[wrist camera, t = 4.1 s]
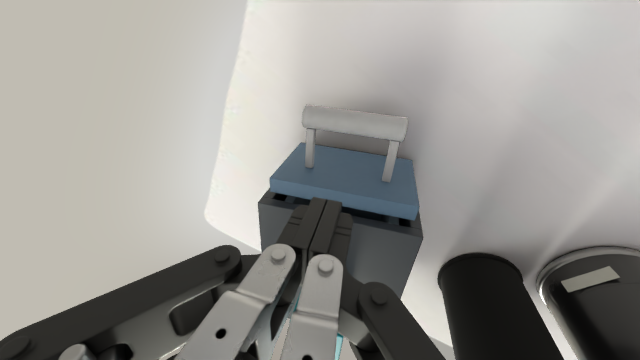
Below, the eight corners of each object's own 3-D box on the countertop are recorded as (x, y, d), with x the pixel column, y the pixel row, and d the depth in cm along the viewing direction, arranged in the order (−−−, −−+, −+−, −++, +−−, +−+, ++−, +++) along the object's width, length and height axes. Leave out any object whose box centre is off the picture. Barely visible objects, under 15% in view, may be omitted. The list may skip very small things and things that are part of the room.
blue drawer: (302, 90, 21) (266, 111, 15) (427, 105, 20) (443, 135, 13) (298, 237, 30) (274, 288, 24) (384, 257, 28) (382, 318, 22)
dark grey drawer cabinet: (297, 153, 26) (257, 202, 18) (413, 173, 24) (423, 237, 16) (295, 247, 33) (266, 311, 25) (385, 269, 30) (382, 346, 23)
